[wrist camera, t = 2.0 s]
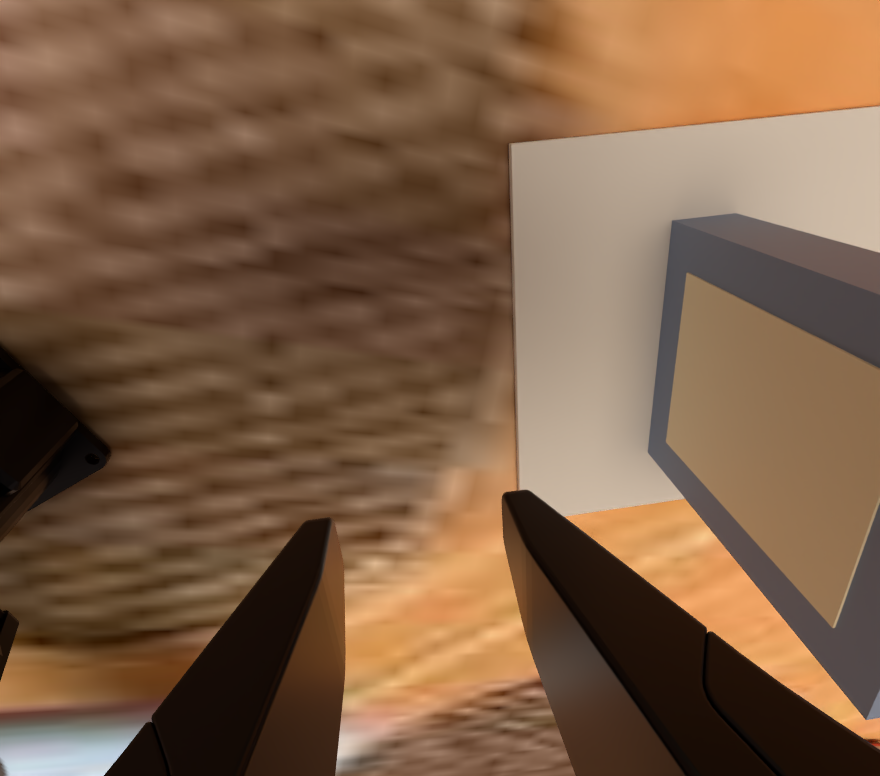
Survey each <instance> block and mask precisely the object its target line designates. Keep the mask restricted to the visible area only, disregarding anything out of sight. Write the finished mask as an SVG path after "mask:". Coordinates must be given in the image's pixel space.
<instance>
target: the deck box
mask: <svg viewBox="0 0 880 776" xmlns="http://www.w3.org/2000/svg"><path fill="white" fill-rule="evenodd" d="M648 454H649V455H650V456H651V457H652V458H653V460H654V461H655V462H656V463H657V465H658V466H659V467H660V468H661V469H662V471H663V472H664V473H665V474H666V476H667V477H668V478H669V479H670V480H671V482H672V483H673V484H674V485H675V487H676V488H677V489H678V490H679V491H680V493H681V494H682V495H683V496H684V498H685V499H686V500H687V501H688V502H689V504H690V505H691V506H692V507H693V509H694V510H695V511H696V512H697V514H698V515H699V516H700V517H701V518H702V520H703V521H704V522H705V523H706V525H707V526H708V527H709V528H710V529H711V531H712V532H713V533H714V534H715V536H716V537H717V538H718V539H719V540H720V542H721V543H722V544H723V545H724V547H725V548H726V549H727V550H728V551H729V553H730V554H731V555H732V556H733V558H734V559H735V560H736V561H737V562H738V564H739V565H740V566H741V567H742V569H743V570H744V571H745V572H746V574H747V575H748V576H749V577H750V578H751V580H752V581H753V582H754V583H755V585H756V586H757V587H758V588H759V589H760V591H761V592H762V593H763V594H764V596H765V597H766V598H767V599H768V600H769V602H770V603H771V604H772V605H773V607H774V608H775V609H776V610H777V611H778V613H779V614H780V615H781V616H782V618H783V619H784V620H785V621H786V622H787V624H788V625H789V626H790V627H791V629H792V630H793V631H794V632H795V634H796V635H797V636H798V637H799V638H800V640H801V641H802V642H803V643H804V645H805V646H806V647H807V648H808V649H809V651H810V652H811V653H812V654H813V656H814V657H815V658H816V659H817V660H818V662H819V663H820V664H821V665H822V667H823V668H824V669H825V670H826V671H827V673H828V674H829V675H830V676H831V678H832V679H833V680H834V681H835V682H836V684H837V685H838V686H839V687H840V689H841V690H842V691H843V692H844V694H845V695H846V696H847V697H848V698H849V700H850V701H851V702H852V703H853V705H854V706H855V707H856V708H857V709H858V711H859V712H860V713H861V714H862V716H863V717H864V718H865V719H866V720H869V719H875V718H880V253H879V252H875V251H872V250H868V249H864V248H861V247H857V246H853V245H850V244H846V243H843V242H839V241H835V240H832V239H828V238H824V237H821V236H817V235H814V234H810V233H806V232H803V231H799V230H795V229H792V228H788V227H784V226H781V225H777V224H774V223H770V222H766V221H763V220H759V219H755V218H752V217H748V216H745V215H741V214H737V213H733V214H724V215H715V216H707V217H698V218H689V219H680V220H672V226H671V235H670V244H669V254H668V263H667V273H666V282H665V292H664V301H663V311H662V320H661V330H660V339H659V349H658V358H657V368H656V377H655V387H654V396H653V406H652V415H651V425H650V434H649V443H648Z"/></svg>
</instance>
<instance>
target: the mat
mask: <svg viewBox="0 0 880 776" xmlns="http://www.w3.org/2000/svg"><path fill="white" fill-rule="evenodd" d="M509 177H510V215H511V254H512V292H513V330H514V368H515V407H516V445H517V483H518V490H529V491H531V492H533V493H534V494H535V495H537V496H538V497H539V498H540V499H542V500H543V501H544V502H546V503H547V504H548V505H549V506H551V507H552V508H553V509H555V510H556V511H557V512H558V513H560V514H561V515H562V516H570V515H577V514H584V513H591V512H598V511H605V510H611V509H618V508H625V507H632V506H639V505H646V504H652V503H659V502H666V501H673V500H680V499H685V498H684V496H683V495H682V494H681V493H680V491H679V490H678V489H677V488H676V487H675V485H674V484H673V483H672V482H671V480H670V479H669V478H668V477H667V476H666V474H665V473H664V472H663V471H662V469H661V468H660V467H659V466H658V465H657V463H656V462H655V461H654V460H653V458H652V457H651V456H650V455H649V454H648V443H649V434H650V425H651V415H652V406H653V396H654V387H655V377H656V368H657V358H658V349H659V339H660V330H661V320H662V311H663V301H664V292H665V282H666V273H667V263H668V254H669V244H670V235H671V226H672V220H680V219H689V218H698V217H707V216H715V215H724V214H733V213H737V214H741V215H745V216H748V217H752V218H755V219H759V220H763V221H766V222H770V223H774V224H777V225H781V226H784V227H788V228H792V229H795V230H799V231H803V232H806V233H810V234H814V235H817V236H821V237H824V238H828V239H832V240H835V241H839V242H843V243H846V244H850V245H853V246H857V247H861V248H864V249H868V250H872V251H875V252H879V253H880V106H871V107H861V108H851V109H841V110H831V111H822V112H812V113H802V114H792V115H783V116H773V117H763V118H753V119H743V120H734V121H724V122H714V123H704V124H694V125H685V126H675V127H665V128H655V129H646V130H636V131H626V132H616V133H606V134H597V135H587V136H577V137H567V138H557V139H548V140H538V141H528V142H518V143H509Z"/></svg>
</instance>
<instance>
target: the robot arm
mask: <svg viewBox="0 0 880 776" xmlns="http://www.w3.org/2000/svg"><path fill="white" fill-rule="evenodd" d="M90 453H91V454H95V455H97V456H98V458H99V459H96V458H93V457H92V456H91V455H90ZM110 456H111V455H110V451H109V450H108V448H107V447H106V446H105V445H104V444H103V443H102V442H101V441H100V440H98V439H97V438H96V437H95V436H94V435H93V434H92V433H91V432H90V431H89V430H88V429H87V428H86V427H85V426H84V425H83V424H82V423H80V422H79V421H78V420H77V419H76V418H75V417H74V416H73V415H72V414H71V413H70V412H69V411H68V410H67V409H66V408H65V407H64V406H63V405H61V404H60V403H59V402H58V401H57V400H56V399H55V398H54V397H53V396H52V395H51V394H50V393H49V392H48V391H47V390H46V389H45V388H43V387H42V386H41V385H40V384H39V383H38V382H37V381H36V380H35V379H34V378H33V377H32V376H31V375H30V374H29V373H28V372H26V371H25V370H24V369H23V368H22V367H21V366H20V365H19V364H18V363H17V362H16V361H15V360H14V359H13V358H12V357H11V356H9V355H8V354H7V353H6V352H5V351H4V350H3V349H2V348H1V347H0V542H1V541H2V540H3V538H4V537H5V536H6V535H7V534H8V533H9V531H10V530H11V529H12V528H13V527H14V526H15V524H16V523H17V522H18V521H19V520H20V519H21V518H22V516H23V515H24V514H25V513H26V512H27V511H29V510H31V509H32V508H34V507H36V506H38V505H39V504H41V503H43V502H45V501H46V500H48V499H50V498H51V497H53V496H55V495H57V494H58V493H60V492H62V491H63V490H65V489H67V488H69V487H70V486H72V485H74V484H76V483H77V482H79V481H81V480H82V479H84V478H86V477H88V476H89V475H91V474H93V473H94V472H96V471H98V470H100V469H101V468H103V467H104V466H105V465H106V463H107V462H108V461H109V459H110ZM502 519H503V538H504V545H505V550H506V554H507V558H508V563H509V567H510V571H511V575H512V580H513V584H514V588H515V592H516V597H517V601H518V605H519V609H520V614H521V618H522V622H523V626H524V630H525V634H526V637H527V641H528V644H529V647H530V650H531V653H532V656H533V659H534V662H535V665H536V667H537V670H538V673H539V676H540V678H541V681H542V684H543V687H544V689H545V692H546V695H547V698H548V700H549V703H550V706H551V709H552V711H553V714H554V717H555V720H556V722H557V725H558V728H559V731H560V734H561V736H562V739H563V742H564V745H565V747H566V750H567V753H568V756H569V758H570V761H571V764H572V767H573V769H574V772H575V775H576V776H880V749H878V748H877V747H875V746H874V745H872V744H871V743H869V742H868V741H866V740H865V739H863V738H862V737H860V736H858V735H857V734H855V733H854V732H852V731H851V730H849V729H848V728H846V727H845V726H843V725H842V724H840V723H839V722H837V721H836V720H834V719H833V718H831V717H830V716H828V715H827V714H825V713H824V712H822V711H821V710H819V709H818V708H816V707H815V706H814V705H812V704H811V703H809V702H808V701H806V700H805V699H803V698H802V697H800V696H799V695H797V694H796V693H794V692H793V691H792V690H790V689H789V688H787V687H786V686H784V685H783V684H781V683H780V682H778V681H777V680H776V679H774V678H773V677H772V676H770V675H769V674H768V673H766V672H765V671H764V670H762V669H761V668H760V667H758V666H757V665H756V664H754V663H753V662H752V661H750V660H749V659H747V658H746V657H745V656H743V655H742V654H741V653H739V652H738V651H737V650H735V649H734V648H733V647H732V646H730V645H729V644H728V643H726V642H725V641H724V640H723V639H721V638H720V637H719V636H717V635H716V634H715V633H714V632H711V631H710V632H708V633H707V628H706V627H705V626H704V625H703V624H702V623H700V622H699V621H698V620H696V619H695V618H694V617H693V616H691V615H690V614H689V613H687V612H686V611H685V610H683V609H682V608H681V607H680V606H678V605H677V604H676V603H674V602H673V601H672V600H671V599H669V598H668V597H667V596H665V595H664V594H663V593H662V592H660V591H659V590H658V589H656V588H655V587H654V586H653V585H651V584H650V583H649V582H647V581H646V580H645V579H644V578H642V577H641V576H640V575H638V574H637V573H636V572H635V571H633V570H632V569H631V568H629V567H628V566H627V565H625V564H624V563H623V562H622V561H620V560H619V559H618V558H616V557H615V556H614V555H613V554H611V553H610V552H609V551H607V550H606V549H605V548H604V547H602V546H601V545H600V544H598V543H597V542H596V541H595V540H593V539H592V538H591V537H589V536H588V535H587V534H586V533H584V532H583V531H582V530H580V529H579V528H578V527H577V526H575V525H574V524H573V523H571V522H570V521H569V520H567V519H566V518H565V517H564V516H562V515H561V514H560V513H558V512H557V511H556V510H555V509H553V508H552V507H551V506H549V505H548V504H547V503H546V502H544V501H543V500H542V499H540V498H539V497H538V496H537V495H535V494H534V493H533V492H531V491H529V490H518V491H511V492H505V493H504V494H503V496H502ZM18 625H19V621H18V620H17V619H16V618H15V617H14V616H13V615H12V614H11V613H10V612H9V611H7V610H6V611H2V610H1V609H0V680H1V677H2V674H3V671H4V668H5V665H6V662H7V659H8V656H9V653H10V650H11V647H12V644H13V641H14V638H15V634H16V631H17V628H18ZM344 680H345V597H344V565H343V558H342V553H341V549H340V544H339V540H338V535H337V531H336V527H335V523H334V521H333V519H332V518H330V517H327V518H320V519H313V520H308V521H305V522H304V523H303V524H302V525H301V526H300V528H299V529H298V530H297V532H296V533H295V534H294V535H293V537H292V538H291V539H290V541H289V542H288V543H287V544H286V546H285V547H284V548H283V549H282V551H281V552H280V553H279V555H278V556H277V557H276V558H275V560H274V561H273V562H272V563H271V565H270V566H269V567H268V569H267V570H266V571H265V572H264V574H263V575H262V576H261V577H260V579H259V580H258V581H257V583H256V584H255V585H254V586H253V588H252V589H251V590H250V592H249V593H248V594H247V595H246V597H245V598H244V599H243V600H242V602H241V603H240V604H239V606H238V607H237V608H236V609H235V611H234V612H233V613H232V614H231V616H230V617H229V618H228V620H227V621H226V622H225V623H224V625H223V626H222V627H221V628H220V630H219V631H218V632H217V634H216V635H215V636H214V637H213V639H212V640H211V641H210V643H209V644H208V645H207V646H206V648H205V649H204V650H203V651H202V653H201V654H200V655H199V657H198V658H197V659H196V660H195V662H194V663H193V664H192V665H191V667H190V668H189V669H188V671H187V672H186V673H185V674H184V676H183V677H182V678H181V679H180V681H179V682H178V683H177V685H176V686H175V687H174V688H173V690H172V691H171V692H170V693H169V695H168V696H167V697H166V699H165V700H164V701H163V702H162V704H161V705H160V706H159V708H158V709H157V710H156V711H155V713H154V714H153V715H152V722H153V723H152V722H147V723H146V724H145V725H144V726H143V728H142V729H141V730H140V731H139V733H138V734H137V735H136V736H135V738H134V739H133V740H132V742H131V743H130V744H129V745H128V747H127V748H126V749H125V750H124V752H123V753H122V754H121V755H120V757H119V758H118V759H117V760H116V762H115V763H114V764H113V765H112V766H111V768H110V769H109V770H108V771H107V773H106V774H105V775H104V776H335V771H336V761H337V751H338V741H339V731H340V721H341V712H342V702H343V692H344Z"/></svg>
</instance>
